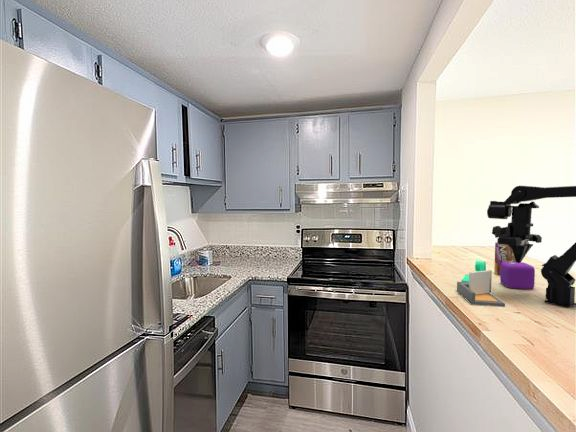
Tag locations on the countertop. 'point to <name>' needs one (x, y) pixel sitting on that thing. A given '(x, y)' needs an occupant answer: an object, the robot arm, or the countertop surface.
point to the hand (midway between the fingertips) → (518, 262)
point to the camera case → (477, 296)
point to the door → (480, 281)
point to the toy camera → (517, 275)
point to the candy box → (502, 256)
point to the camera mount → (476, 269)
